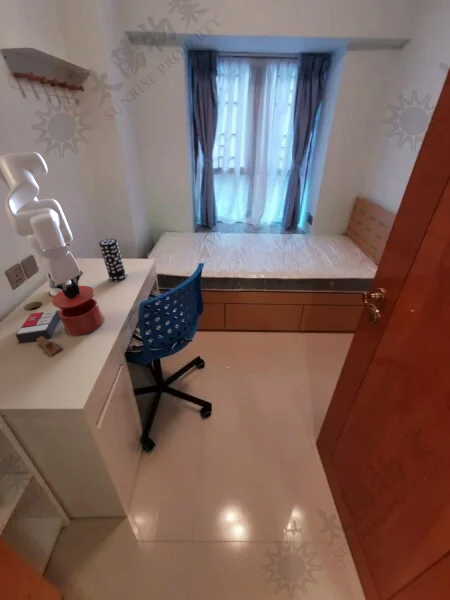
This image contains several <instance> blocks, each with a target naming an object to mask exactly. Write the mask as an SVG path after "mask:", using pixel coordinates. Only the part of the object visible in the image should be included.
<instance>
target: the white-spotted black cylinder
mask: <svg viewBox="0 0 450 600" xmlns="http://www.w3.org/2000/svg"><path fill="white" fill-rule="evenodd" d="M98 245H99V248H100V251H101V255H102V259H103V262H104V265H105V268H106V271H107V274H108V278H109V280H110V281H111V282H121V281H123V280H125V279H126V278H127V274H126V270H125V266H124V262H123V259H122V255H121V252H120V248H119V244H118V240H117V239H116V238H105V239H103V240H101V241H99V242H98Z"/></svg>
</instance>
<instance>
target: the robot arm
mask: <svg viewBox="0 0 450 600" xmlns="http://www.w3.org/2000/svg"><path fill="white" fill-rule="evenodd" d="M47 175H48V166H47V163H46V161H45V159H44V158H43V157H42V155H41V154H40V153H38V152H37V151H23V152H13V153H7V154H4V155H0V184H1V185H2V186H3V187H4V188H5V189H6V190H7V192H8V194H7V196H6V198H5V201H4V210H5V213H6V216H7V218H8V220H9V222H10V224H11V227H12V228H13V231H14V232H15V233H16V234H17V235H19V236H21V237H26V239H27V242H28V243H29V246H30V247H31V248H32V250H33V251H34V253H35V255H36V257H37V259H38V262H39V263H40V265H41V268H42V269H43V272H44V274H45V277H46V279H47V281H48V283H49V284H48V287H49V288H50V289H49V291H48V292H49V294H50V296H51V297H54V296H55V295H56V294H57V293H59V292H61V291H63V293H64V295H65V297H68V298H70V299H71V298H72V296H71V293H70V291H69V289H67V287H66V286H67V285H69V284H73V286H74V288H75V291H76V293H77V294H80V292H79V287H78V286H79V280H80V279H81V277H82V276H83V275H84V272H83V271H82V270H81V269H80V267H79V265H78V263H77V260H76V258H75V257H74V255H73V253H72V252H71V250H69V248H70V246H71V245H70V244H71V243H72V242H73V240H74V237H73V233H72V230H71V228H70V226H69V223H68V221H67V219H66V215H65V213H64V212H63V209H62V207H61V204H60V203H59V202H58V201H57V200H55V199H54V198H44V199H38V195H39V194H40V187H39V185H38V183H37V182H36V179H35V178H36V177H37V178H38V177H45V176H47Z"/></svg>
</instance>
